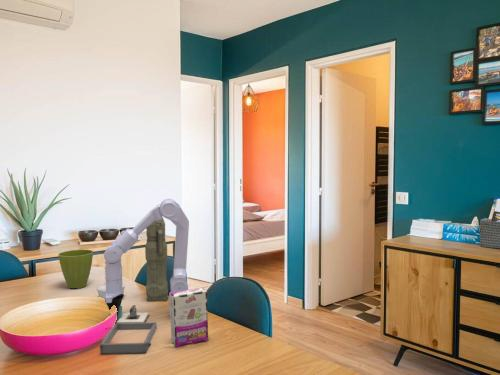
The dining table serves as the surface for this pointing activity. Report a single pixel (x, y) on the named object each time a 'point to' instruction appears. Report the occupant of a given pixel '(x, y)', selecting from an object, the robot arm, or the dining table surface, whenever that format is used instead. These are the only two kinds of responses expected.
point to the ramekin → (103, 287)
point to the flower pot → (76, 267)
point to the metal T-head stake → (133, 312)
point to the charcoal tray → (128, 347)
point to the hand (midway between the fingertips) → (114, 316)
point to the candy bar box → (189, 317)
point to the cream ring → (125, 317)
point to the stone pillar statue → (156, 262)
